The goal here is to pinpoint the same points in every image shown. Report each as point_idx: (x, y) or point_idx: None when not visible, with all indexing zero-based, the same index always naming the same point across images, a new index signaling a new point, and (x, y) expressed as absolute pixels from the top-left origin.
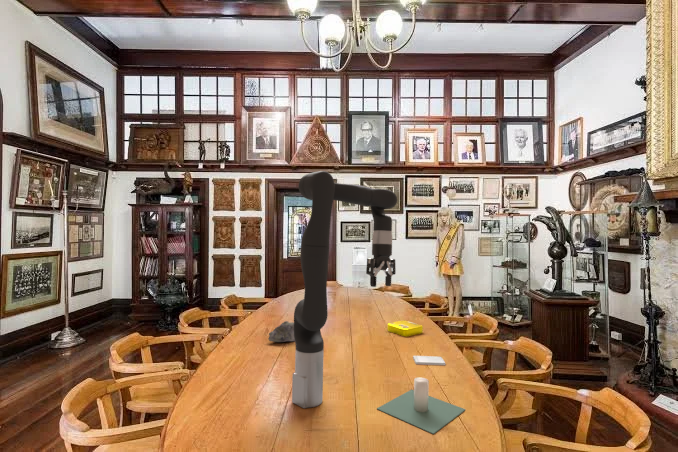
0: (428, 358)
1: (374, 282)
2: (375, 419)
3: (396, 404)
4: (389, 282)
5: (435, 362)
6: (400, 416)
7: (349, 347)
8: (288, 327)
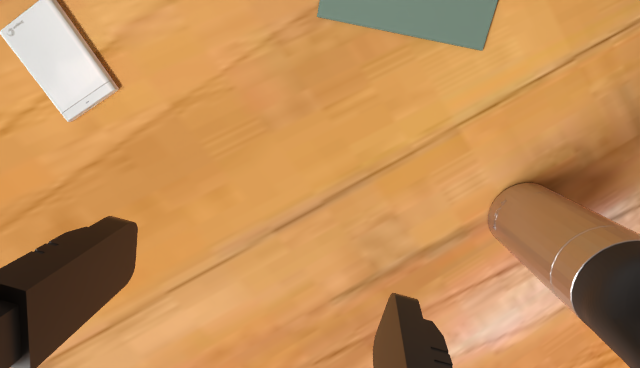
0: (53, 63)
1: (421, 340)
2: (534, 27)
3: (435, 12)
4: (105, 244)
5: (68, 28)
6: None
7: (142, 315)
8: None
